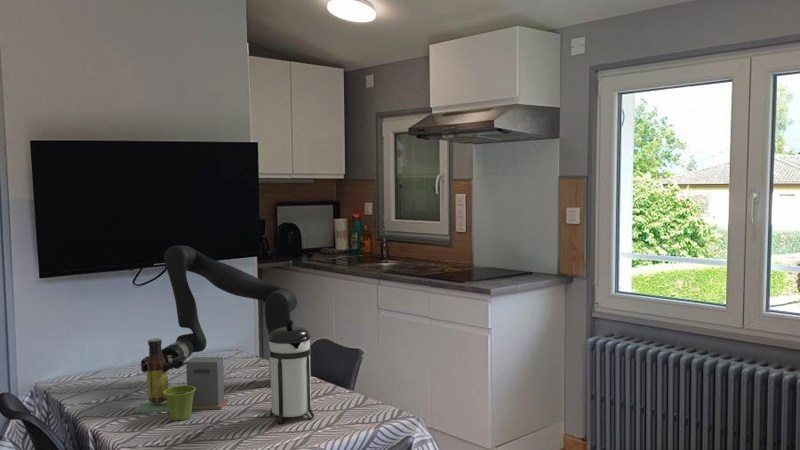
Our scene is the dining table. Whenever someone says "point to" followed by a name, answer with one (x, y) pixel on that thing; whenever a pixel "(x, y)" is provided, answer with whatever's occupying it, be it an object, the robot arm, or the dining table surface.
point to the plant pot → (179, 401)
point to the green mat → (152, 407)
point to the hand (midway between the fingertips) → (153, 368)
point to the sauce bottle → (156, 372)
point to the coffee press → (290, 372)
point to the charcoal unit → (206, 382)
